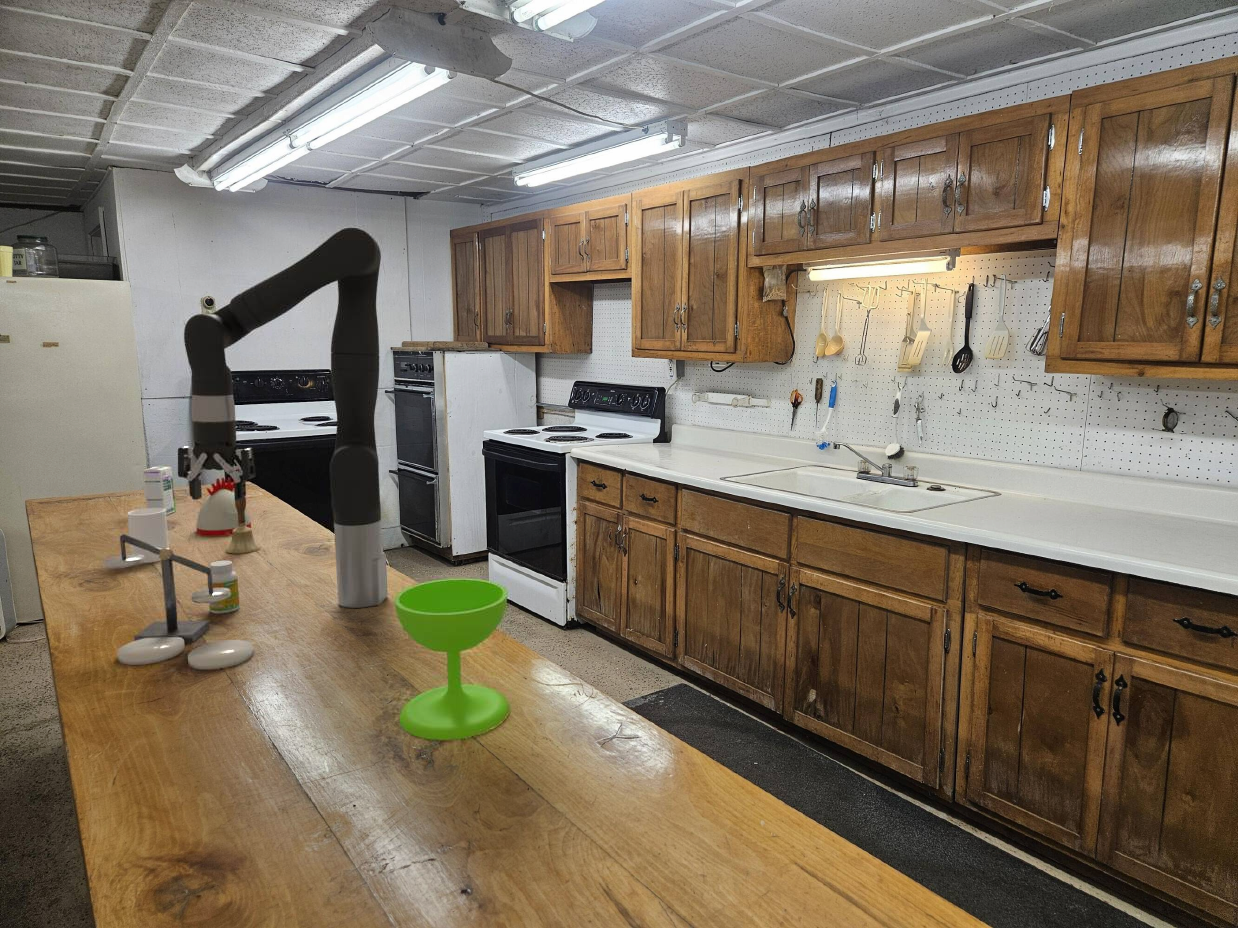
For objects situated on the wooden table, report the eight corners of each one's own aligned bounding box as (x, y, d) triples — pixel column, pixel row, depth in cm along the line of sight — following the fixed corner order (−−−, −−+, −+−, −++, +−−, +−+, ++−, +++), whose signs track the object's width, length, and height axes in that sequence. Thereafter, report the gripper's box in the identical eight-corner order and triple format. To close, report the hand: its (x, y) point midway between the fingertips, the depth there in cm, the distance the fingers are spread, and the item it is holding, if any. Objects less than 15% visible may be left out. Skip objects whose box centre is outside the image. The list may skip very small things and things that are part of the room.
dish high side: (195, 641, 141) (195, 635, 141) (164, 664, 131) (164, 658, 131) (140, 641, 141) (139, 635, 141) (104, 664, 131) (104, 658, 131)
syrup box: (165, 515, 239) (161, 469, 236) (146, 515, 239) (142, 469, 237) (176, 511, 244) (172, 466, 242) (157, 511, 244) (153, 466, 242)
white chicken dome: (261, 528, 224) (257, 477, 222) (214, 538, 213) (210, 484, 210) (233, 522, 232) (229, 472, 229) (186, 531, 220) (182, 479, 218)
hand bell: (262, 544, 207) (258, 485, 204) (258, 552, 199) (254, 491, 197) (228, 546, 204) (223, 487, 202) (222, 555, 197) (218, 493, 194)
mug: (125, 555, 196) (120, 508, 194) (163, 549, 202) (159, 503, 200) (134, 565, 187) (130, 516, 186) (174, 558, 193) (170, 511, 191)
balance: (239, 627, 148) (232, 527, 145) (224, 641, 141) (216, 537, 138) (123, 630, 146) (113, 529, 143) (103, 644, 139) (91, 539, 136)
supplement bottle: (227, 615, 154) (223, 567, 153) (203, 613, 156) (199, 566, 154) (245, 606, 160) (242, 560, 158) (222, 604, 161) (218, 558, 159)
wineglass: (417, 687, 123) (412, 577, 120) (518, 689, 123) (516, 579, 120) (383, 738, 107) (377, 614, 104) (499, 741, 107) (496, 615, 104)
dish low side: (263, 646, 139) (262, 639, 139) (237, 669, 129) (236, 662, 129) (207, 646, 139) (206, 639, 139) (176, 669, 129) (175, 662, 129)
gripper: (259, 417, 155) (262, 497, 158) (189, 415, 156) (193, 494, 158) (239, 421, 148) (243, 504, 151) (166, 418, 149) (171, 502, 151)
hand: (218, 499), depth 154 cm, fingers open, 8 cm apart
